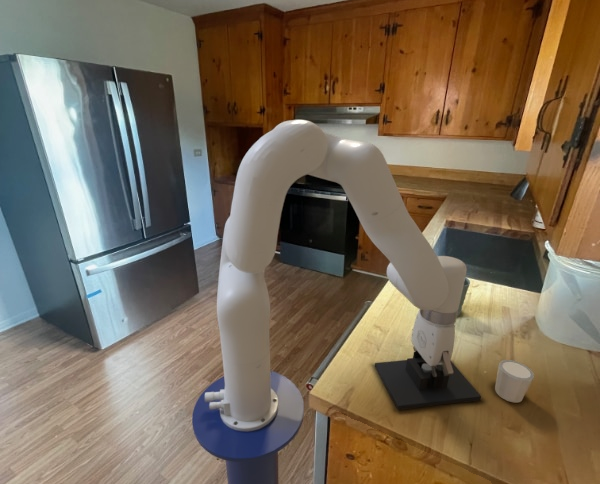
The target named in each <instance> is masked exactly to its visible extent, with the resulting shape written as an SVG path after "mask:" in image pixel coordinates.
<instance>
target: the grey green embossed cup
mask: <svg viewBox="0 0 600 484" xmlns="http://www.w3.org/2000/svg"><path fill="white" fill-rule="evenodd" d="M470 285H471V281H470V280H469V278H467V277H465V281H464V286H463V291H462V295H461V300H460V304H459V309H458V313H457V317H459V316H460V315H461V312H462V309H463V306H464V303H465V300H466V296H467V293H468V290H469V288H470Z"/></svg>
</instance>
